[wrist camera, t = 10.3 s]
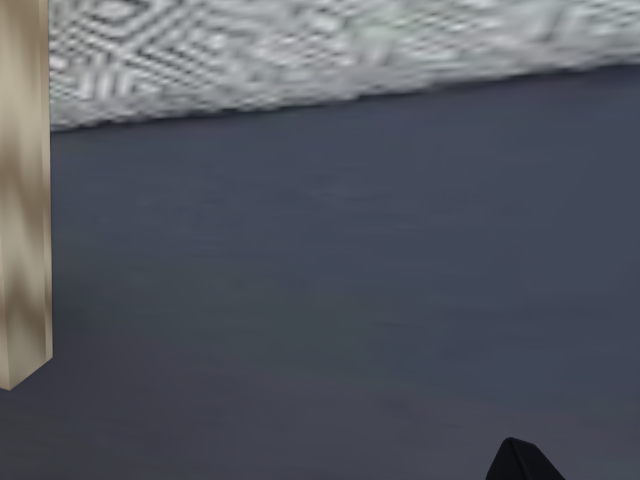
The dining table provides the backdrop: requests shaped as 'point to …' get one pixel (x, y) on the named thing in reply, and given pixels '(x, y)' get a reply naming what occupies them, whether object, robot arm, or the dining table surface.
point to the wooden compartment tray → (24, 191)
